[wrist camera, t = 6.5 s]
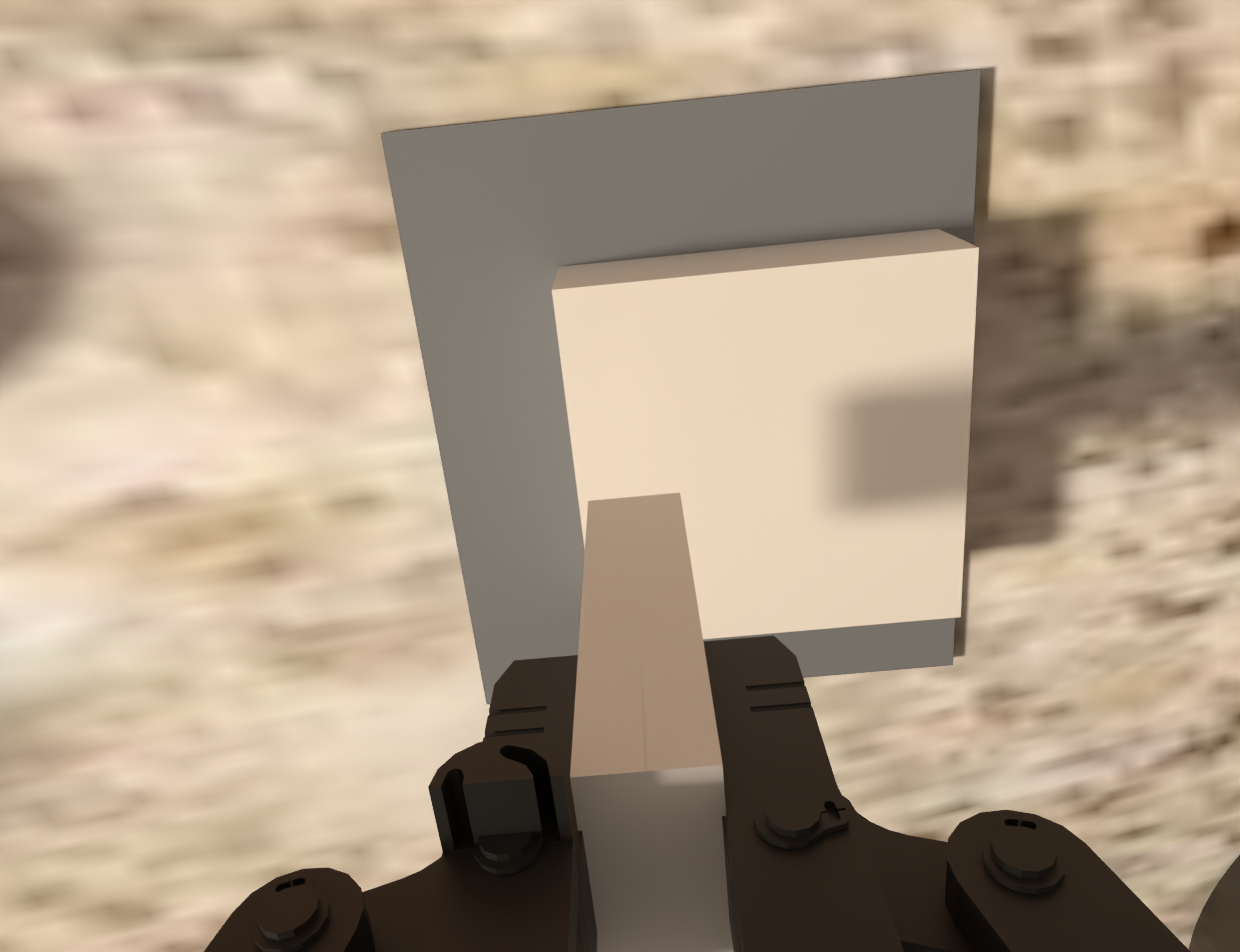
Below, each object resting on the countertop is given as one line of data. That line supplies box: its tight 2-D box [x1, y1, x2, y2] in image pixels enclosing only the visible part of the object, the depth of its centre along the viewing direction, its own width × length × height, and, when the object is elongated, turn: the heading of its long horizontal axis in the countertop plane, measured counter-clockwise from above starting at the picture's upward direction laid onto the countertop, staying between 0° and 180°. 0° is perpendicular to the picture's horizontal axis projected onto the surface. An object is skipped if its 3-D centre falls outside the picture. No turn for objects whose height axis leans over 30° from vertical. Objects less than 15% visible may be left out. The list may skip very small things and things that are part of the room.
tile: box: [552, 229, 979, 639], centre depth 20 cm, size 2×8×8 cm
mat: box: [381, 70, 981, 704], centre depth 22 cm, size 12×14×1 cm
